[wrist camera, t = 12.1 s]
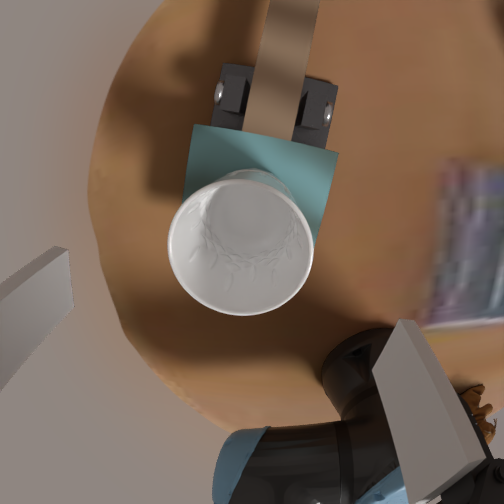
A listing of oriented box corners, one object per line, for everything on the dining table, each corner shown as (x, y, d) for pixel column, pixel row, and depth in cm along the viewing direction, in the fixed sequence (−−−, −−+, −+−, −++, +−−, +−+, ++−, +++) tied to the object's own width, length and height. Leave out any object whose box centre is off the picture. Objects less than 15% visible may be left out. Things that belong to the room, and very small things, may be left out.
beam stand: (321, 156, 30) (336, 165, 23) (210, 134, 30) (190, 135, 23) (336, 87, 27) (356, 74, 20) (224, 64, 27) (209, 44, 20)
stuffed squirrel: (465, 413, 47) (484, 455, 35) (420, 420, 47) (437, 469, 35) (489, 383, 43) (513, 426, 31) (444, 388, 43) (468, 439, 31)
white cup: (293, 254, 26) (302, 321, 17) (204, 246, 27) (170, 308, 18) (303, 165, 23) (323, 187, 14) (206, 158, 24) (165, 175, 15)
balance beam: (302, 275, 29) (307, 305, 24) (180, 250, 29) (162, 275, 24) (368, -37, 16) (384, -62, 11) (245, -61, 16) (239, -91, 11)
